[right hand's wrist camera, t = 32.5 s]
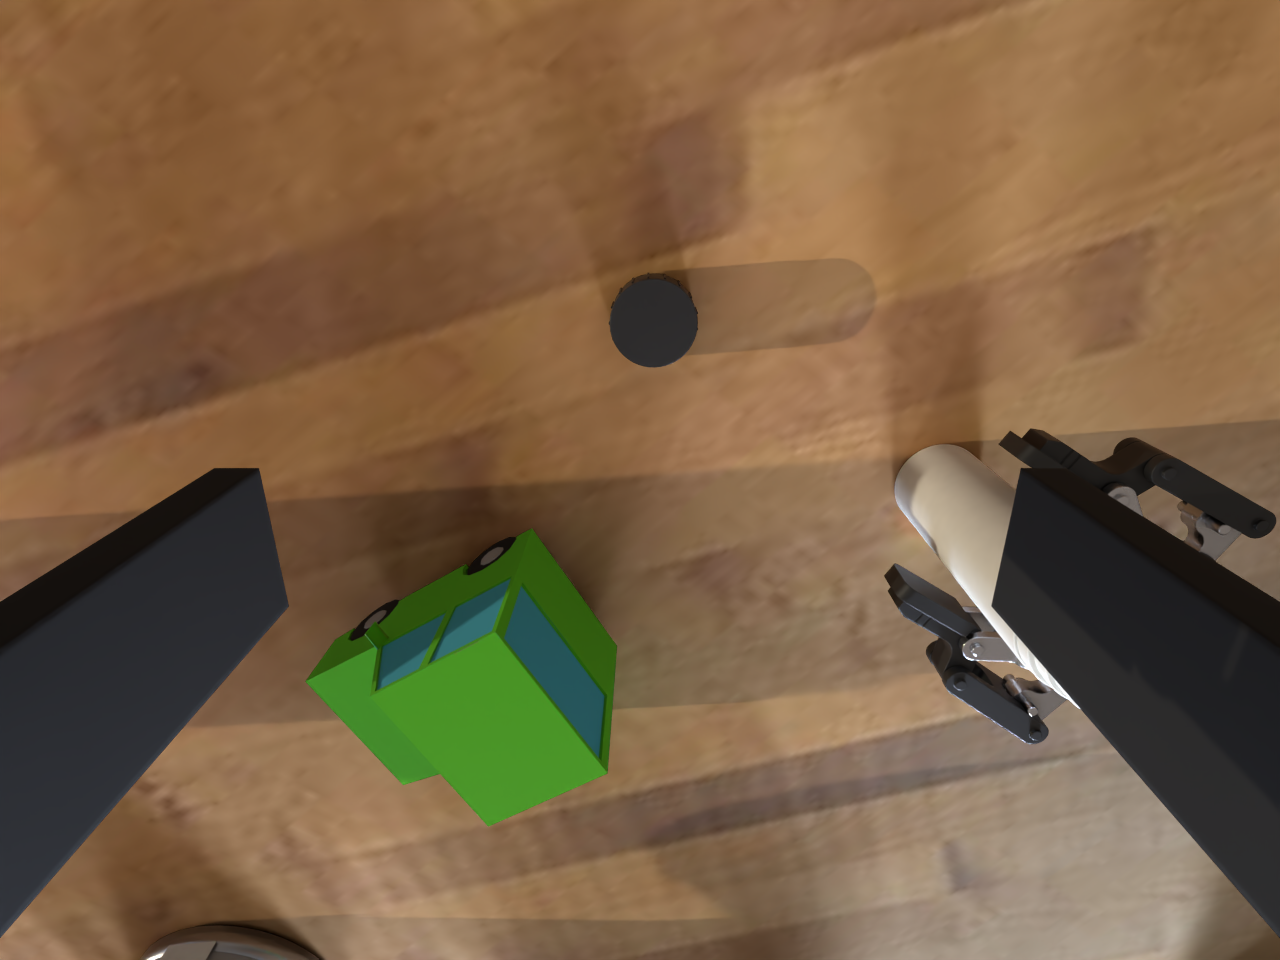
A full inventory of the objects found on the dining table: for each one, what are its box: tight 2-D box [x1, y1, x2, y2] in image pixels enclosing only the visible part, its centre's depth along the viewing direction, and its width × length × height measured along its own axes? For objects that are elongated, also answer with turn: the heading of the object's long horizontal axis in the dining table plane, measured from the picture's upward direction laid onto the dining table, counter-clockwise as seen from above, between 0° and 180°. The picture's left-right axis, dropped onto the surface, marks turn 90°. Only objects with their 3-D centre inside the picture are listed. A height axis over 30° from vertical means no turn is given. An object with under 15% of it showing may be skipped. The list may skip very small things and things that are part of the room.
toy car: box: [305, 528, 617, 826], centre depth 34 cm, size 10×13×10 cm
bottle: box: [895, 444, 1079, 708], centre depth 26 cm, size 4×4×18 cm
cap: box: [609, 273, 698, 367], centre depth 31 cm, size 4×4×2 cm
